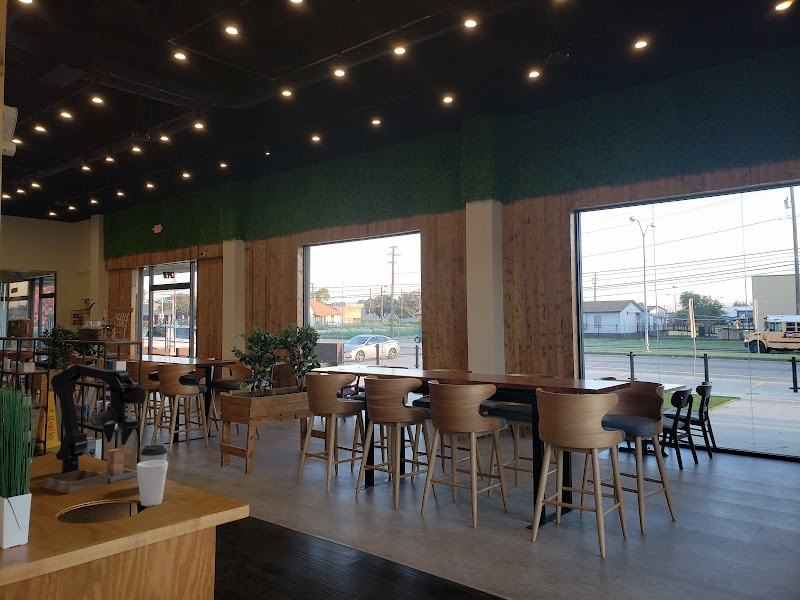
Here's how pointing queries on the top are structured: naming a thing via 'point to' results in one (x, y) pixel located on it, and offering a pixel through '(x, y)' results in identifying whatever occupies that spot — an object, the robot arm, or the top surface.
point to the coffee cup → (153, 453)
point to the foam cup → (151, 481)
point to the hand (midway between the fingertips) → (116, 443)
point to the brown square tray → (75, 481)
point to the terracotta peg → (115, 462)
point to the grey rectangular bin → (121, 476)
